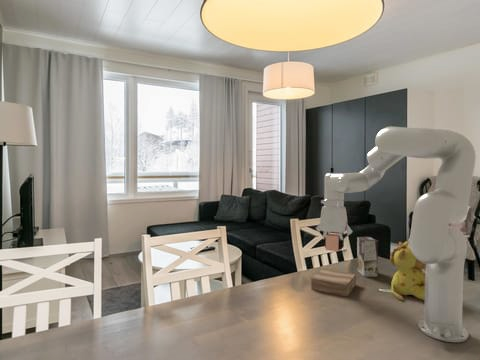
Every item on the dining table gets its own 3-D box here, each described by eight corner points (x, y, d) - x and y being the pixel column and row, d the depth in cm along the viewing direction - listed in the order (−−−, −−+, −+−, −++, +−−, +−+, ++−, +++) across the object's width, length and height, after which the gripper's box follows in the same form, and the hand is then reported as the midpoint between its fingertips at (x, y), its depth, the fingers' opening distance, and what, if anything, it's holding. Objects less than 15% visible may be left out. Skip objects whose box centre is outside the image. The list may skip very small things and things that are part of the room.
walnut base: (346, 296, 123) (346, 284, 122) (311, 289, 130) (311, 278, 130) (355, 284, 134) (355, 274, 134) (322, 278, 142) (322, 268, 142)
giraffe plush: (458, 304, 115) (459, 251, 114) (389, 303, 117) (390, 250, 116) (429, 283, 135) (429, 237, 134) (371, 282, 137) (371, 237, 136)
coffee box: (378, 276, 143) (378, 240, 143) (363, 277, 143) (364, 241, 143) (370, 270, 152) (370, 236, 152) (356, 270, 153) (356, 236, 152)
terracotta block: (337, 251, 128) (338, 236, 128) (325, 249, 131) (325, 235, 131) (341, 248, 132) (341, 234, 132) (329, 246, 135) (329, 232, 135)
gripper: (310, 203, 132) (310, 247, 133) (353, 206, 123) (352, 253, 124) (316, 201, 138) (316, 243, 139) (358, 203, 129) (357, 248, 130)
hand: (333, 247), depth 132 cm, fingers closed on terracotta block, 4 cm apart
